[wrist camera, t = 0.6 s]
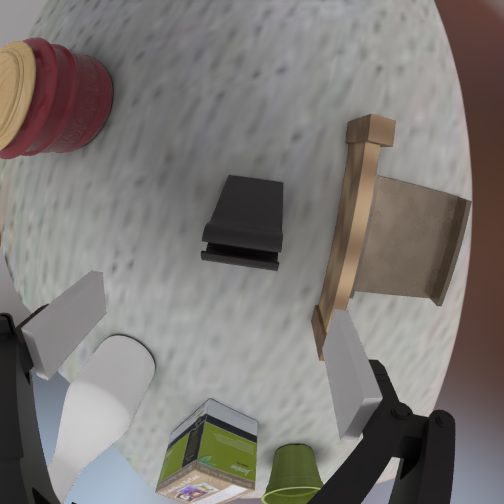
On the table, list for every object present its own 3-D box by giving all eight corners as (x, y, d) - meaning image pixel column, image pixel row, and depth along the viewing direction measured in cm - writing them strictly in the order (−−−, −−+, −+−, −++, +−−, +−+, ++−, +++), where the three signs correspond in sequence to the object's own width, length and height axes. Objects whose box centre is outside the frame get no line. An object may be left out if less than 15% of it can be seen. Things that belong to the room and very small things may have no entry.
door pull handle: (348, 122, 29) (371, 113, 22) (368, 126, 29) (395, 120, 22) (311, 321, 37) (319, 360, 30) (328, 323, 37) (340, 361, 30)
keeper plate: (364, 173, 31) (372, 175, 28) (458, 196, 31) (471, 201, 28) (340, 286, 36) (346, 297, 33) (431, 296, 35) (441, 306, 32)
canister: (106, 41, 27) (16, -1, 10) (126, 127, 31) (20, 121, 14) (37, 87, 29) (-56, 80, 12) (52, 166, 33) (-48, 189, 16)
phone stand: (229, 174, 32) (206, 187, 21) (283, 182, 32) (290, 199, 21) (220, 251, 35) (196, 298, 24) (271, 258, 35) (270, 310, 24)
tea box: (215, 451, 49) (204, 512, 35) (171, 431, 48) (151, 492, 34) (260, 420, 45) (256, 493, 31) (209, 395, 43) (191, 471, 29)
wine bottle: (104, 323, 40) (-10, 474, 12) (160, 346, 40) (74, 529, 12) (102, 365, 43) (18, 502, 15) (153, 387, 44) (87, 542, 15)
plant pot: (253, 459, 49) (250, 504, 39) (281, 431, 45) (281, 483, 35) (304, 469, 50) (306, 511, 40) (335, 442, 46) (342, 490, 36)
